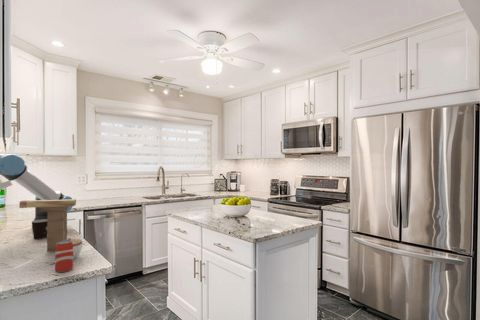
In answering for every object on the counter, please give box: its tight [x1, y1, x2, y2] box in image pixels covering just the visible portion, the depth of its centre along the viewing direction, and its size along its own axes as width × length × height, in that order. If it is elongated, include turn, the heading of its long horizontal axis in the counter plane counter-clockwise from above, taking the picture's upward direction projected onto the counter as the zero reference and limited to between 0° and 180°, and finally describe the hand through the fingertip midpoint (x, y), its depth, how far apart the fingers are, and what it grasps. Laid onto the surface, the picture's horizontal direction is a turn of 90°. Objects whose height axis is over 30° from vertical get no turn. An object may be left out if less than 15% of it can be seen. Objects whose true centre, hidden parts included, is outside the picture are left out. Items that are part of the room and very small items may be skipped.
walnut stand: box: [39, 206, 69, 253], centre depth 146 cm, size 9×11×22 cm
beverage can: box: [54, 239, 74, 273], centre depth 119 cm, size 6×6×12 cm
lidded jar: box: [56, 237, 83, 260], centre depth 133 cm, size 11×11×9 cm
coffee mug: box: [31, 219, 47, 240], centre depth 170 cm, size 12×9×10 cm
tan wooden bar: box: [18, 198, 77, 209], centre depth 146 cm, size 4×24×3 cm, turn 108°
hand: (6, 182), depth 142 cm, fingers open, 13 cm apart
